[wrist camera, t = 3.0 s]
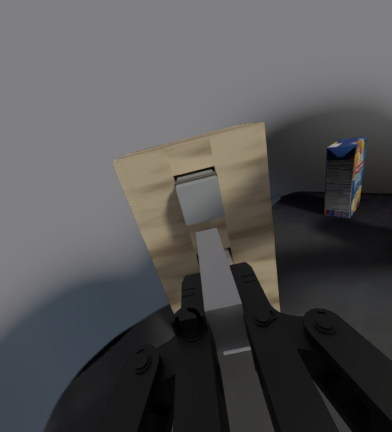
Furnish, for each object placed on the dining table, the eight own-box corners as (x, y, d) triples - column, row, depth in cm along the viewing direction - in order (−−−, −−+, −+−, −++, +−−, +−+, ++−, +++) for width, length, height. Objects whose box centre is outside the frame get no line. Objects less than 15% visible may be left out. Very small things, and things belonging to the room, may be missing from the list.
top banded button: (185, 210, 26) (175, 176, 24) (219, 202, 26) (212, 167, 24) (185, 227, 22) (173, 187, 20) (226, 217, 21) (219, 176, 20)
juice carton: (335, 202, 77) (339, 139, 68) (359, 204, 72) (367, 136, 62) (324, 215, 71) (326, 147, 61) (349, 219, 65) (356, 145, 56)
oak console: (189, 312, 47) (132, 152, 32) (262, 295, 46) (240, 124, 31) (190, 355, 38) (111, 161, 23) (282, 336, 37) (264, 121, 22)
